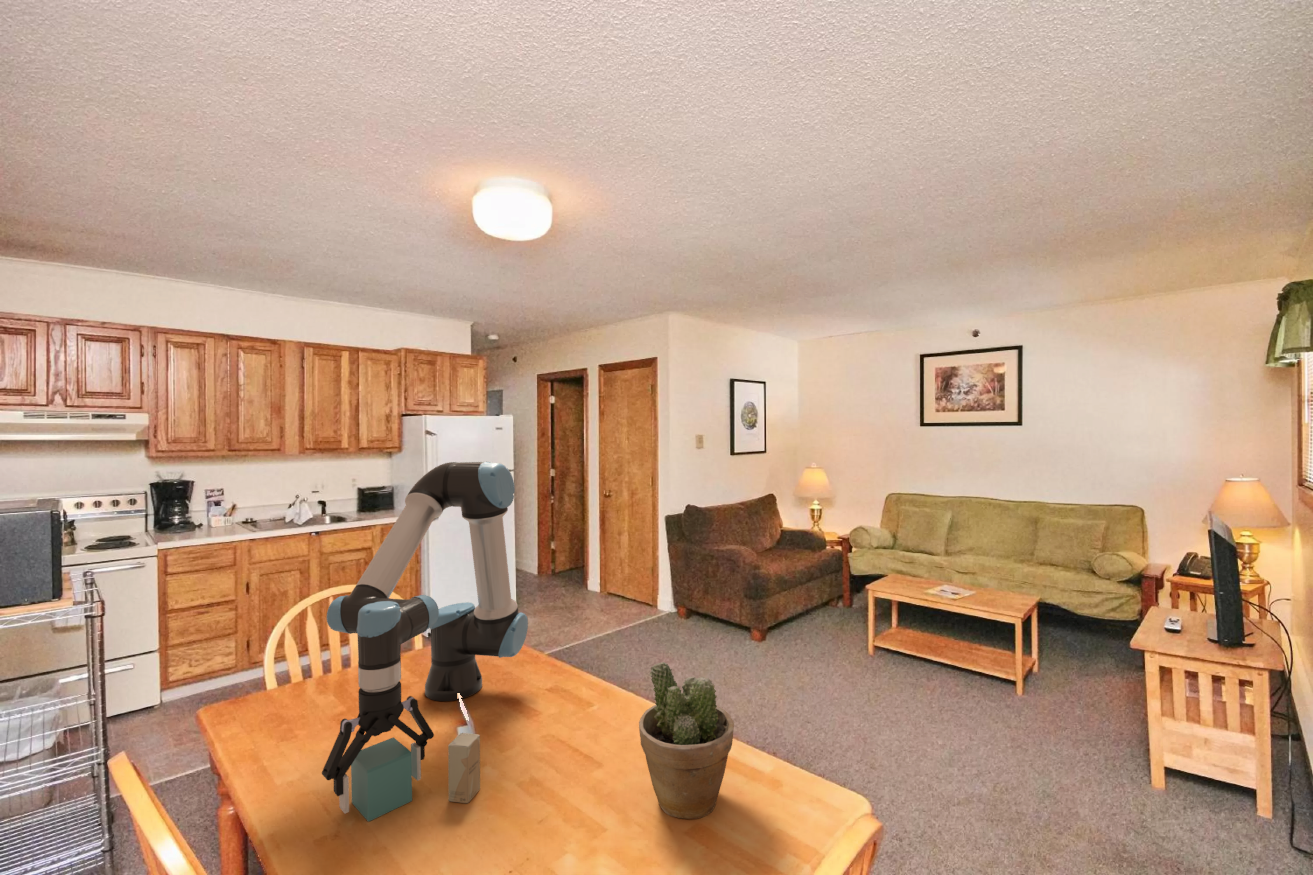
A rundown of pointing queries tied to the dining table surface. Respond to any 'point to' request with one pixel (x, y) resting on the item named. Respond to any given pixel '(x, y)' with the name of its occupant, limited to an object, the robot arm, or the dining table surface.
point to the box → (464, 767)
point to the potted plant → (685, 744)
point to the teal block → (381, 778)
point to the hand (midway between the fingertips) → (381, 792)
